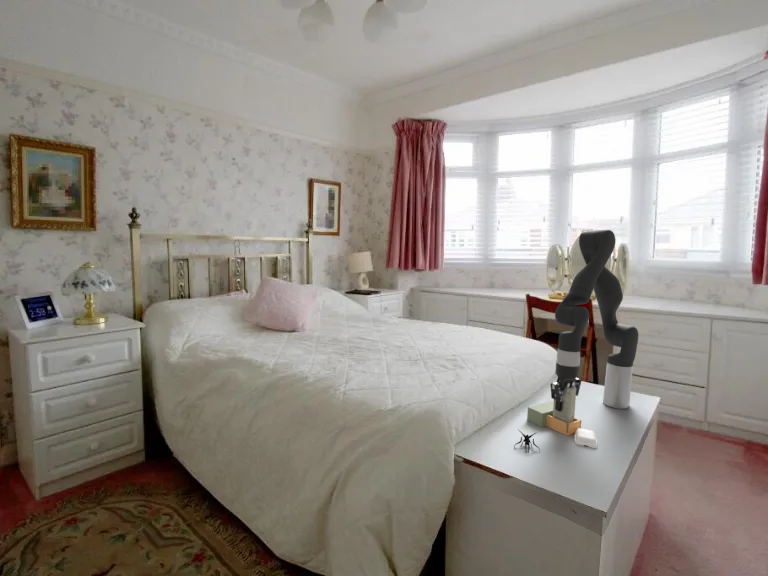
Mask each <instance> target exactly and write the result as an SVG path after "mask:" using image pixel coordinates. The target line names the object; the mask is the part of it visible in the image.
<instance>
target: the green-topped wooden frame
mask: <svg viewBox="0 0 768 576" xmlns="http://www.w3.org/2000/svg"><path fill="white" fill-rule="evenodd" d="M553 405H554V402H552V401H545V402H543V403H539V404H535V405H530V406H528V407H527V415H526V417H527V418H526V421H528V422H530V423H532V424H534V425H536V426H539V427H540V428H543V427H548V428H550V429H553V430H554V431H557V432H558V433H561V434H562V435H565V436H567V437H568V436H570V435H575V432H576V431H577V428H581V429H582V420H581V419H579V418H577V417H575V416H574V421H573V422H571V423H565V422H563V421H561V420H559V419H557V418H554V417H553Z"/></svg>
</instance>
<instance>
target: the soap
mask: <svg viewBox="0 0 768 576" xmlns="http://www.w3.org/2000/svg"><path fill="white" fill-rule="evenodd" d="M573 436H574V437H573V438H574V443H575V444H576V445H578V446H588V448H593V449H594V448H595V449H597V448H598V439H597V437H596V433H595V431H594V430H591V429H586V428H582V427H581V428H577V431H576V432H575V433H574V435H573Z"/></svg>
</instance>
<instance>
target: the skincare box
mask: <svg viewBox="0 0 768 576" xmlns="http://www.w3.org/2000/svg"><path fill="white" fill-rule="evenodd" d="M559 391H560V392H563V391H562V390H560V389H559ZM555 395H556V394H555ZM559 396H561V394H559ZM576 397H577V396H576V387H573V388H572V387H569V388H568V389H567V393H566V395H565V396H564V398H563V406H562V411H561V412H559V411H557V410H556V409H555V404H556V400H555V399H553V403H554V405H553V417H554V418H557V419H559V420H561V421H563V422H565V423H571V422H573V421H574V417H575V411H576V400H577V399H576Z"/></svg>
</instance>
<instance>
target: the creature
mask: <svg viewBox="0 0 768 576" xmlns="http://www.w3.org/2000/svg"><path fill="white" fill-rule="evenodd" d="M518 432H519V433H520V434H522V436H521V437H520V441H518V442H516V443H515V444H514V446H513V448H514V449H516V448H515V446H516V445H519V444H521V445H520V450H523V449H522V448H521V447H522V446H523V442H524V445H525V446H524V448H525V450H527V448H528V454H529V453H530V450H531V451H533V452H535V450H533V449H530V448H531V447H532V448H533V446H535V447H536V448H537V449H540V448H539V446H538V445H536V443H535V439H534V438H532V437H533V436H534V435H536V434H538V431H537V432H534V433H533V434H531V435H529V434H524V433H523V432H522V431H521V430H519V429H518ZM523 438H524V439H523ZM531 438H532V442H531V440H530V439H531ZM532 443H533V445H532ZM527 446H528V447H527ZM535 453H536V452H535ZM540 453H541V451H539V452H538V454H540Z"/></svg>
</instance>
